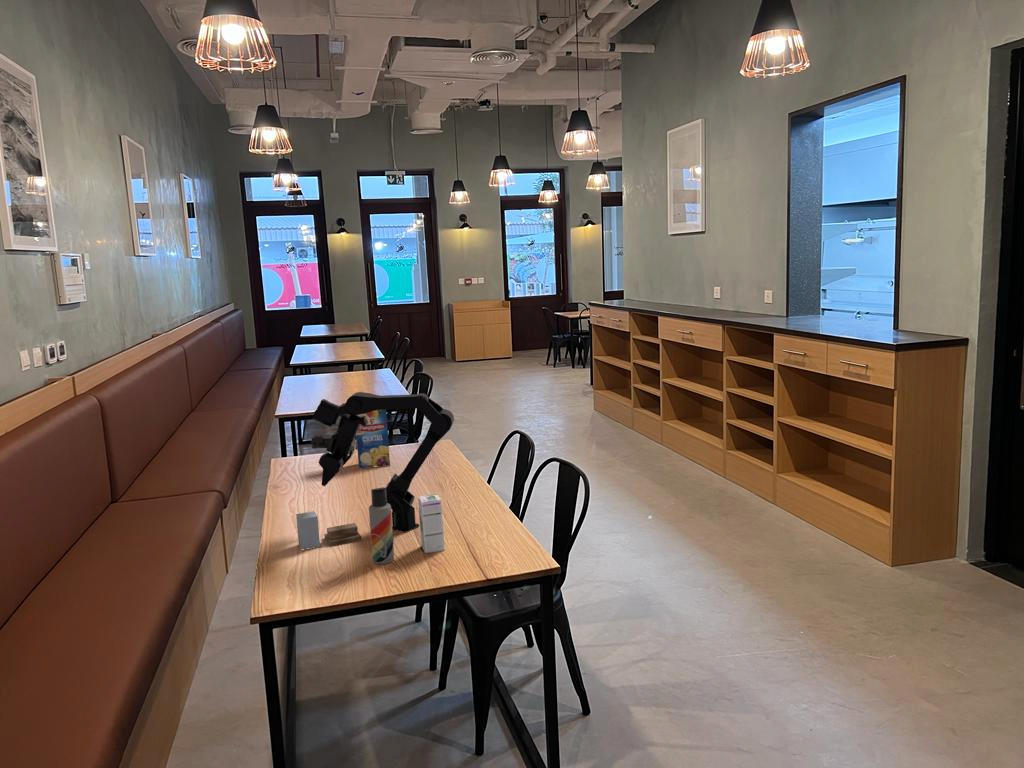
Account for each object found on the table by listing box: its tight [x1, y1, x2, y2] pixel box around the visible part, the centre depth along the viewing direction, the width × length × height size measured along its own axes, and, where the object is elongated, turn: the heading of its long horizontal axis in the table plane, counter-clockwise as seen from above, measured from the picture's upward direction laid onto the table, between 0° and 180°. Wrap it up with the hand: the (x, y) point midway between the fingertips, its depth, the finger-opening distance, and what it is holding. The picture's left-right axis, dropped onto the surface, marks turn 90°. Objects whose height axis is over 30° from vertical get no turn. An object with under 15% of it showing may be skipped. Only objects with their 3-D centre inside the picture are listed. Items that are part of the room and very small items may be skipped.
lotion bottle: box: [368, 487, 395, 565], centre depth 196 cm, size 6×6×20 cm
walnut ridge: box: [323, 522, 362, 547], centre depth 214 cm, size 9×7×4 cm
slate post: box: [295, 510, 321, 550], centre depth 210 cm, size 5×5×9 cm
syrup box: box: [417, 494, 446, 554], centre depth 204 cm, size 6×6×14 cm
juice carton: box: [355, 410, 391, 469], centre depth 290 cm, size 12×8×24 cm, turn 104°
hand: (327, 481), depth 220 cm, fingers open, 9 cm apart
